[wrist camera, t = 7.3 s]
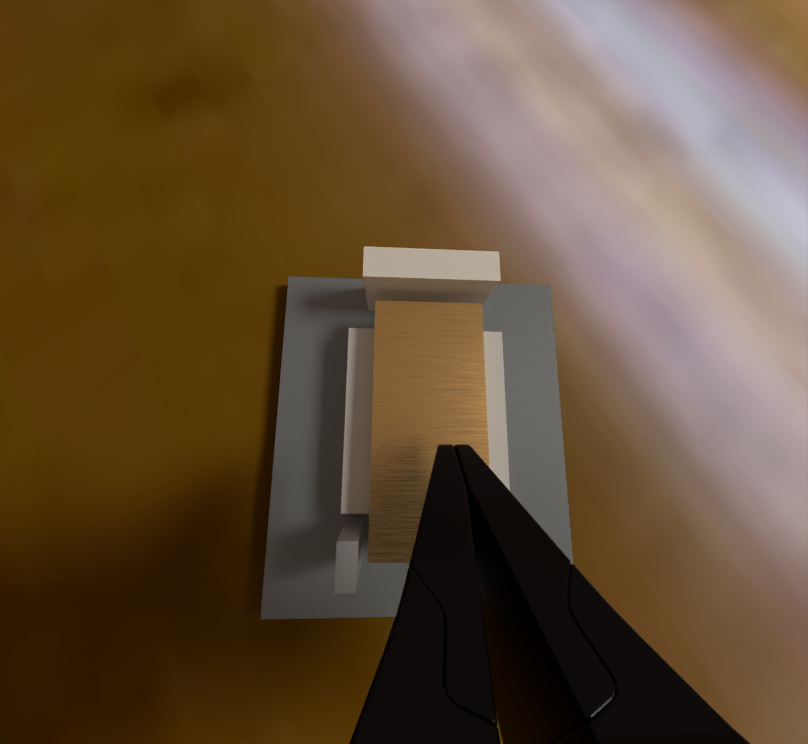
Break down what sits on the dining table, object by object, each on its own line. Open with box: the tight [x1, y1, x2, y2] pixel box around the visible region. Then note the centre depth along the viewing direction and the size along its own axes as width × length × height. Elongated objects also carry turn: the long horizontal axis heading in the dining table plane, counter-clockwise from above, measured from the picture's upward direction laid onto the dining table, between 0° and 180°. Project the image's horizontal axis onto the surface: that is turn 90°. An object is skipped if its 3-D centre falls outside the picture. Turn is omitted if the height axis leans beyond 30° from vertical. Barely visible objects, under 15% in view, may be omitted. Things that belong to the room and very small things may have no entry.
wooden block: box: [368, 300, 489, 563], centre depth 14 cm, size 1×5×11 cm
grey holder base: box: [260, 247, 573, 620], centre depth 15 cm, size 17×15×5 cm
